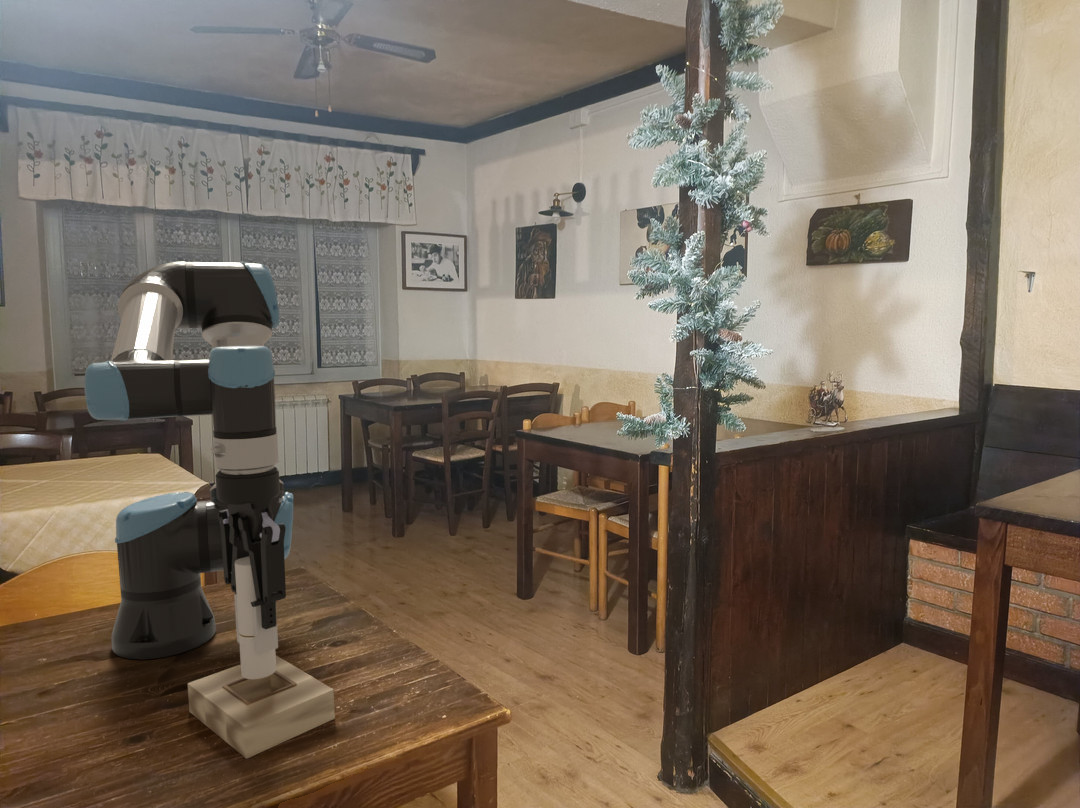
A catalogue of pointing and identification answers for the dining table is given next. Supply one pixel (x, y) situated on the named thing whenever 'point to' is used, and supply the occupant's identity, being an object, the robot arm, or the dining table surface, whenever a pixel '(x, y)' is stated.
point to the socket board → (260, 706)
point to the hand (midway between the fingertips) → (257, 644)
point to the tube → (249, 626)
